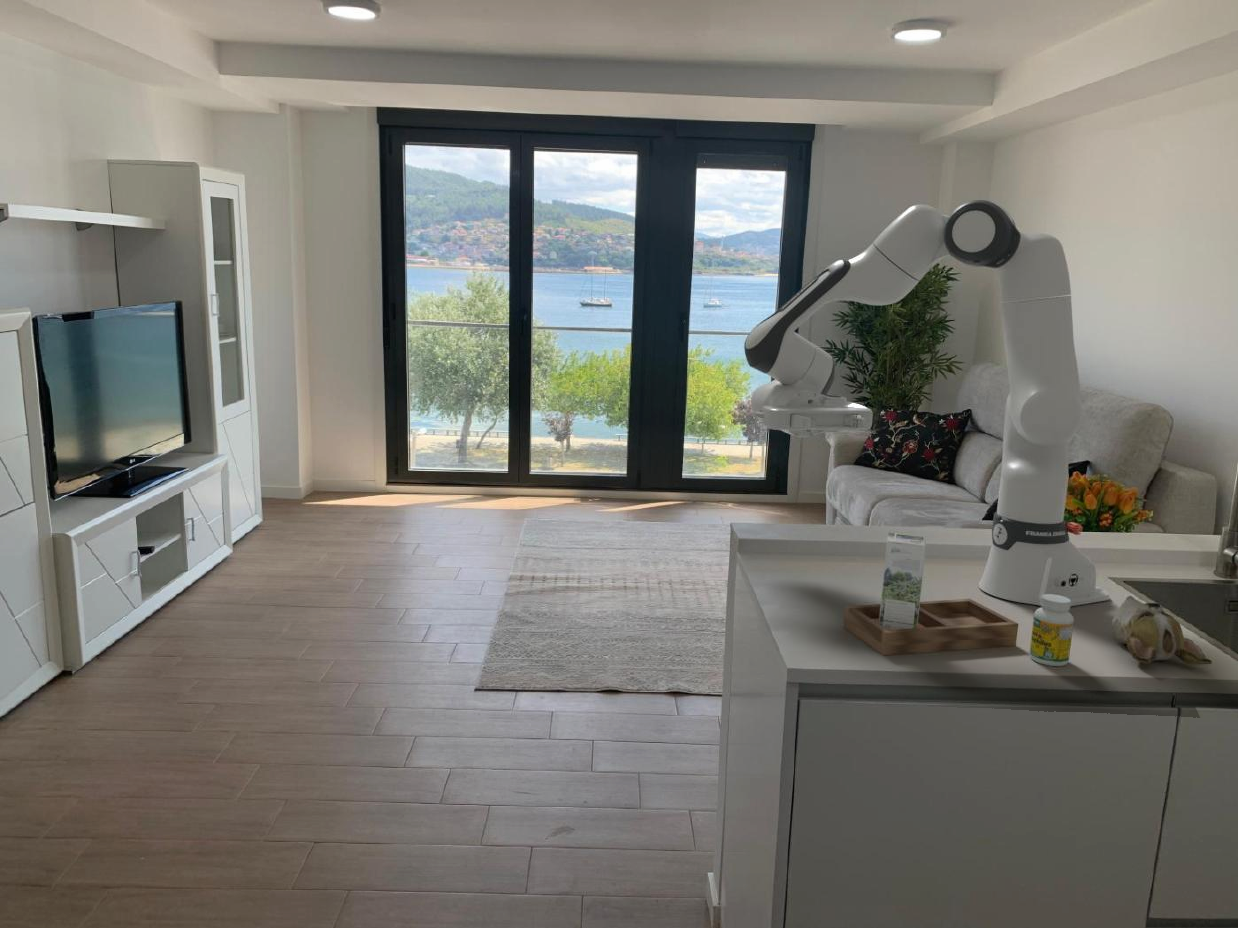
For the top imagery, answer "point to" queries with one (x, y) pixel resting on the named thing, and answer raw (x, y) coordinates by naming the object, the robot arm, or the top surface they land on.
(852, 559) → the top surface
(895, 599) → the syrup box
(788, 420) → the robot arm
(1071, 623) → the supplement bottle
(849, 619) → the divided wooden tray
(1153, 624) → the tan plush toy
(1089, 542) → the top surface
